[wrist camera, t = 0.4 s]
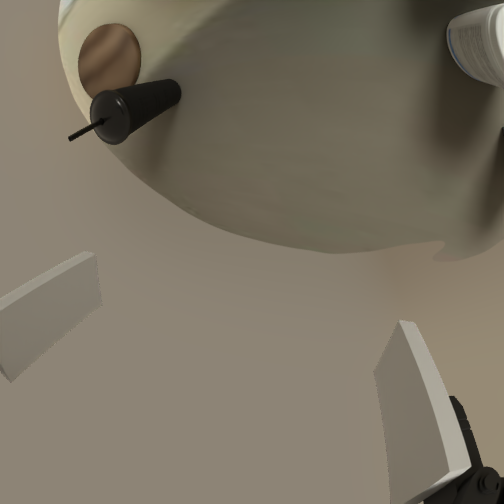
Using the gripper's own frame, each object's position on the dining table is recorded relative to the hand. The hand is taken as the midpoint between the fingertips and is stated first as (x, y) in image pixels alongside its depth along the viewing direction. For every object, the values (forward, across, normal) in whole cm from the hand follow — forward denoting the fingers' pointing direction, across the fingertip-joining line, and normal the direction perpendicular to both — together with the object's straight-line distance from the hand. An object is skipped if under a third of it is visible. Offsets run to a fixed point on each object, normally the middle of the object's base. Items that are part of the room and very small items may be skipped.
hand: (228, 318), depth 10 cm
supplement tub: (+20, +22, +28) cm, 41 cm away
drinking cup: (+31, -21, +15) cm, 40 cm away
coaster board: (+29, -34, +22) cm, 50 cm away
